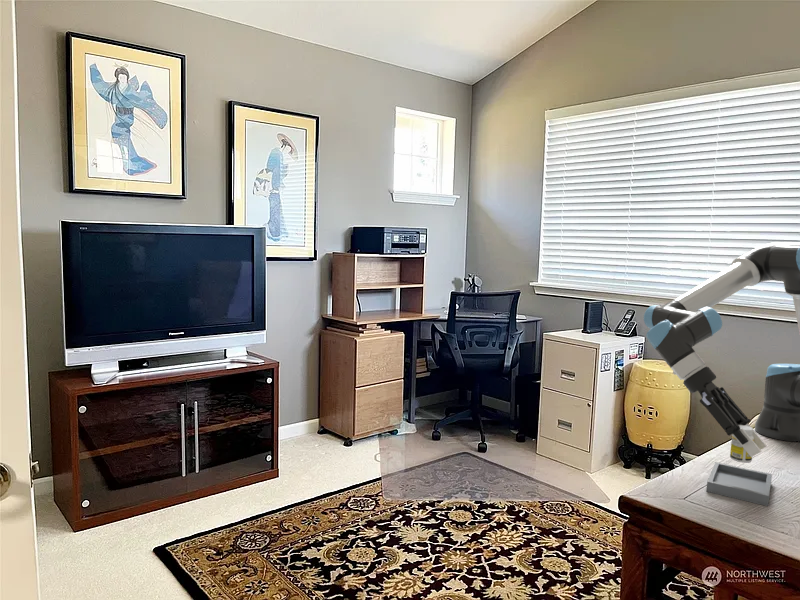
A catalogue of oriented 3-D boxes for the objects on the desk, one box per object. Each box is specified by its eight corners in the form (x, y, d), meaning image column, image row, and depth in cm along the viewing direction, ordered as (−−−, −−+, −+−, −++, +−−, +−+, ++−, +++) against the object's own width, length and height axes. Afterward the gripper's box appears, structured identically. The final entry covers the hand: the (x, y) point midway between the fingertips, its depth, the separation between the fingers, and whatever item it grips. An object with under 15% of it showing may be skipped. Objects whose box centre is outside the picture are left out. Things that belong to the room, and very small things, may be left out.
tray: (714, 470, 160) (715, 462, 160) (770, 483, 153) (772, 474, 153) (706, 491, 147) (707, 481, 147) (767, 506, 140) (768, 495, 140)
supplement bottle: (748, 457, 151) (751, 425, 150) (754, 464, 146) (757, 431, 145) (727, 455, 152) (730, 423, 151) (732, 461, 148) (735, 429, 147)
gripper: (693, 376, 164) (754, 450, 155) (670, 386, 151) (736, 468, 142) (716, 360, 160) (780, 435, 151) (695, 370, 147) (764, 453, 138)
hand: (759, 451), depth 146 cm, fingers closed on supplement bottle, 5 cm apart
